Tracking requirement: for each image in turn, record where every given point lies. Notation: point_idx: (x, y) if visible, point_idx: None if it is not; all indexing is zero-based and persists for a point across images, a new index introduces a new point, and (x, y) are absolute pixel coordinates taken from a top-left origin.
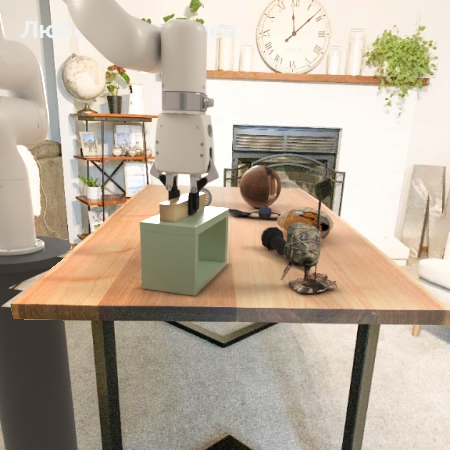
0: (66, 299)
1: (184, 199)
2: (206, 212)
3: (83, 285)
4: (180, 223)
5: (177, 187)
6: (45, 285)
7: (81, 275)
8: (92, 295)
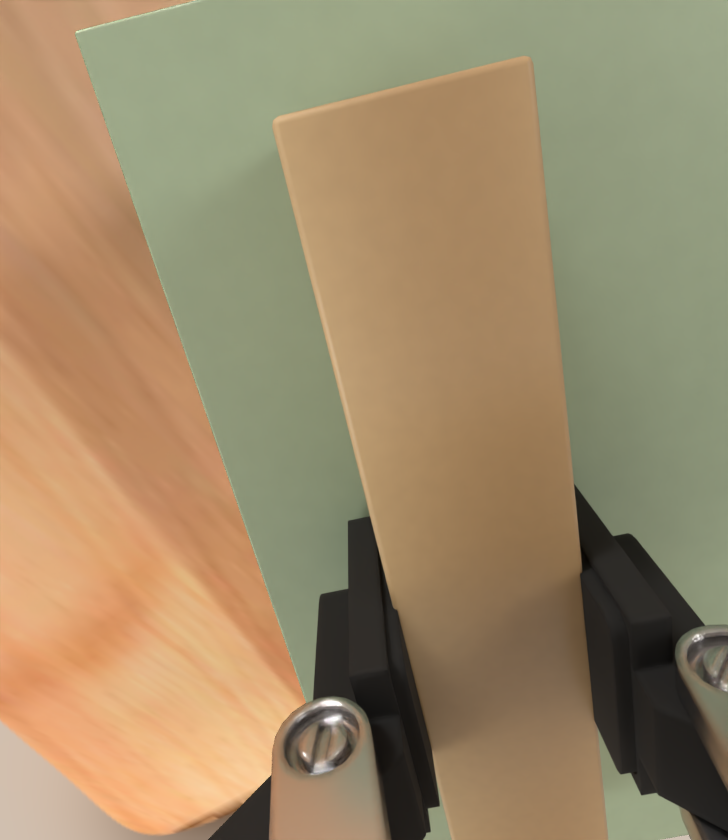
0: (226, 771)
1: (564, 741)
2: (617, 351)
3: (157, 677)
4: (615, 800)
5: (405, 753)
6: (58, 737)
7: (48, 615)
8: (263, 717)
